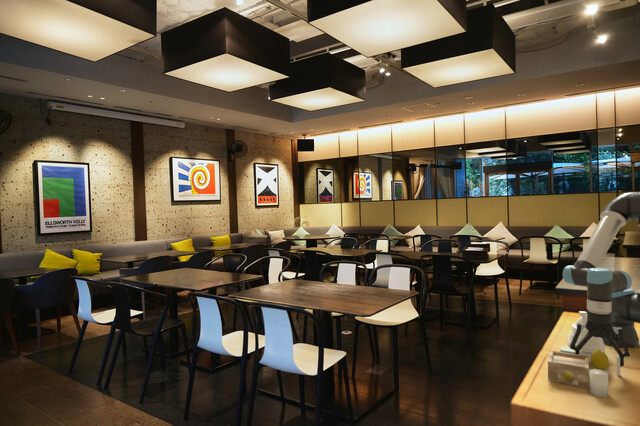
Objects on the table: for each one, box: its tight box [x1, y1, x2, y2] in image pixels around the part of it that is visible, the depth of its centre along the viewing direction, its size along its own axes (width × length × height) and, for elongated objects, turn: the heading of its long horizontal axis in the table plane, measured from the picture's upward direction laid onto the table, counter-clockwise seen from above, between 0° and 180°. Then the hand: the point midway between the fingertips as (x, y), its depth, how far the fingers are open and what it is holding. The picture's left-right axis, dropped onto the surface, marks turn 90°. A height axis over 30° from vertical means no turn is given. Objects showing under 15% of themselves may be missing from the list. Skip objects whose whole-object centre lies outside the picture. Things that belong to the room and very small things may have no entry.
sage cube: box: [559, 345, 575, 354], centre depth 164 cm, size 5×5×5 cm
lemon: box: [590, 350, 610, 371], centre depth 154 cm, size 6×6×8 cm
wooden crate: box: [547, 350, 590, 389], centre depth 150 cm, size 12×12×7 cm
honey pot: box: [566, 310, 606, 363], centre depth 169 cm, size 13×13×18 cm
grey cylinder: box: [589, 368, 609, 398], centre depth 138 cm, size 5×5×7 cm
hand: (598, 371), depth 154 cm, fingers open, 11 cm apart
